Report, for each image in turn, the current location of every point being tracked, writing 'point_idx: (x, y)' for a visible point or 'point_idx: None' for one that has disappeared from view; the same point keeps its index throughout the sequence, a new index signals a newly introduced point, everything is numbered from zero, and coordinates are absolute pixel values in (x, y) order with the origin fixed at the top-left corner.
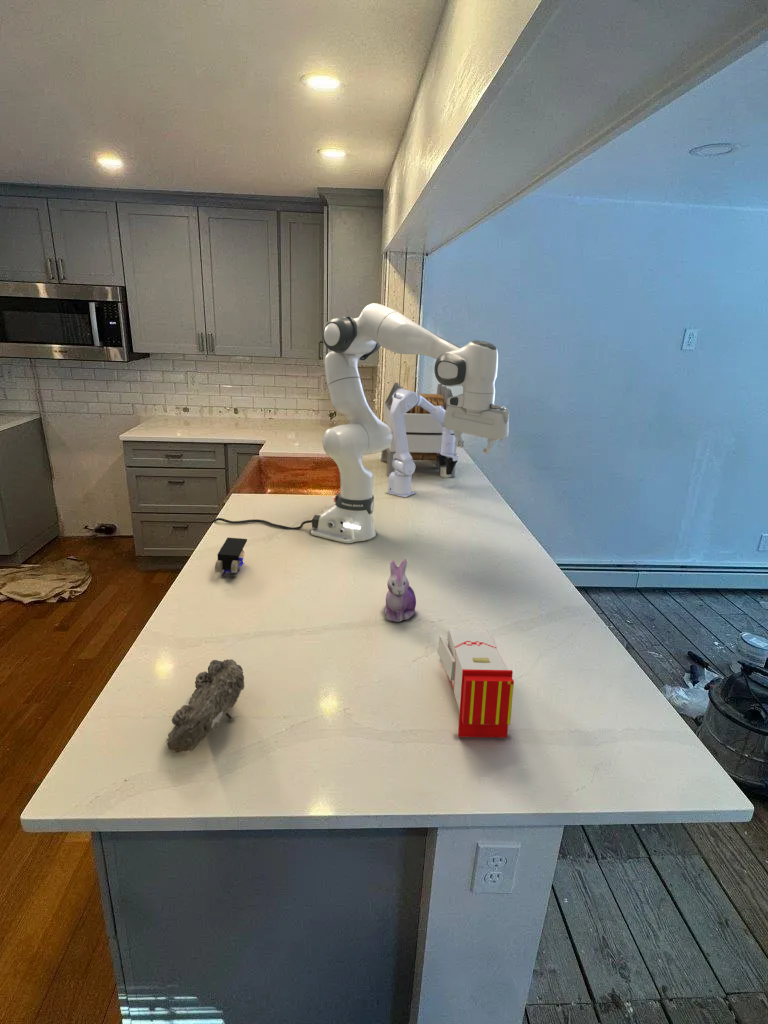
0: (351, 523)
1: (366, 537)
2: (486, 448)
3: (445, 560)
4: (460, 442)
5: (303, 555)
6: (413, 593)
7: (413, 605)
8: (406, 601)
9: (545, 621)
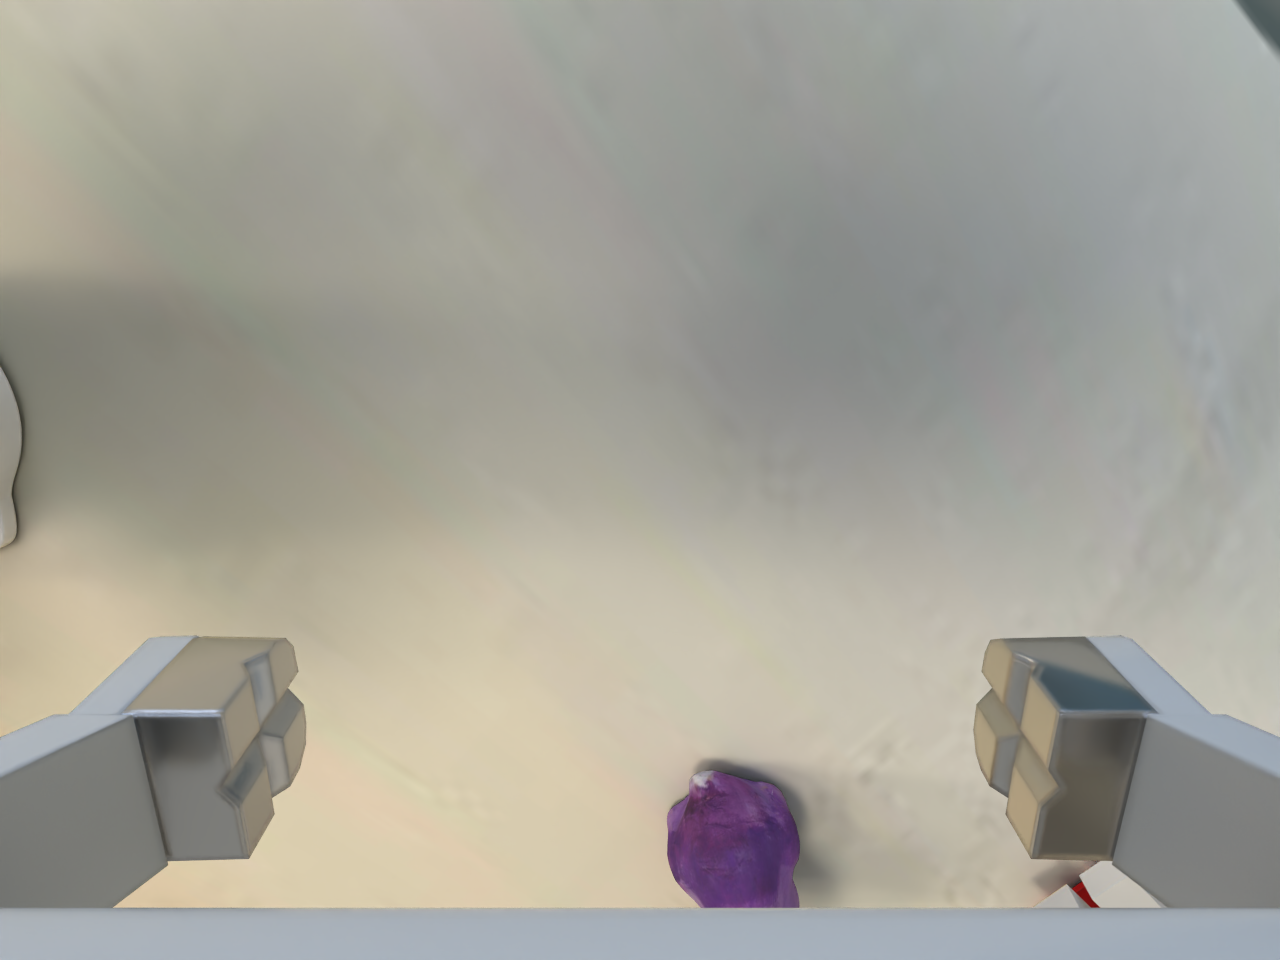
0: None
1: (6, 432)
2: (1124, 849)
3: (511, 273)
4: (246, 841)
5: None
6: (779, 847)
7: (799, 842)
8: (797, 899)
9: (1249, 449)
